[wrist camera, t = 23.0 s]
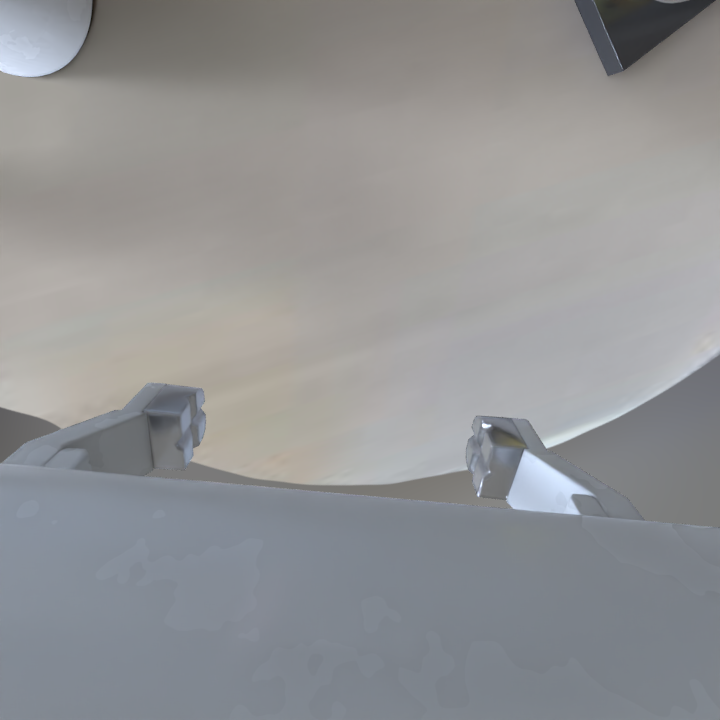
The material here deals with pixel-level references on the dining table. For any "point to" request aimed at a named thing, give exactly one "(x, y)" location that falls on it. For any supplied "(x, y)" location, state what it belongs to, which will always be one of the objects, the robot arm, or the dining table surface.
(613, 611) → the robot arm
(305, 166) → the dining table surface
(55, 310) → the dining table surface
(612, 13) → the hot plate
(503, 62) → the dining table surface
